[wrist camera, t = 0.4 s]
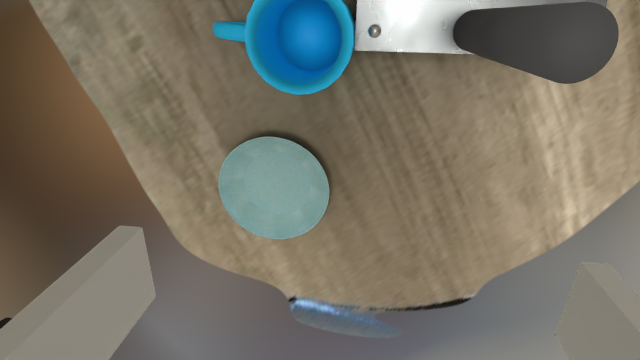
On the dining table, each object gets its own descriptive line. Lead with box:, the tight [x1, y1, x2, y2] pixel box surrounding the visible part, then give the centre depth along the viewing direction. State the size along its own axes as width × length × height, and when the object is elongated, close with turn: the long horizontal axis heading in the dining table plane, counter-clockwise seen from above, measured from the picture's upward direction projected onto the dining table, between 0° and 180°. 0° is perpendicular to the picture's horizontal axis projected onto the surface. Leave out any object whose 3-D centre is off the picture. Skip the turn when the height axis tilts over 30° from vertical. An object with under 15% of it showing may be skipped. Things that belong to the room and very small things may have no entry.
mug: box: [213, 0, 356, 95], centre depth 32 cm, size 12×8×8 cm
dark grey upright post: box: [453, 2, 618, 84], centre depth 22 cm, size 3×3×16 cm
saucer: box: [218, 136, 330, 239], centre depth 41 cm, size 12×12×2 cm
